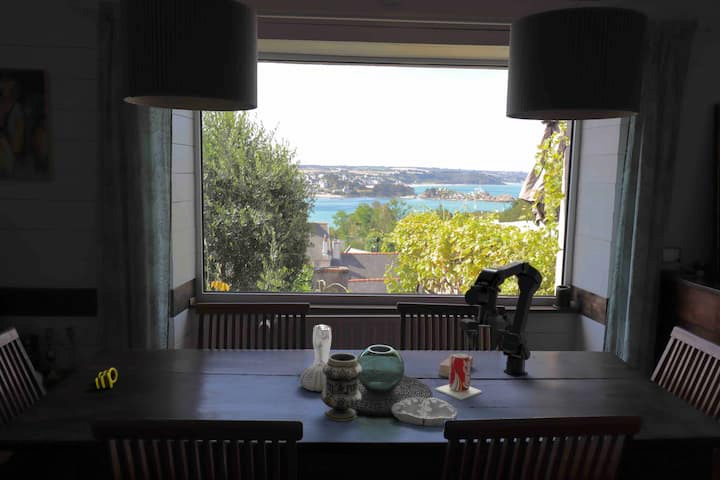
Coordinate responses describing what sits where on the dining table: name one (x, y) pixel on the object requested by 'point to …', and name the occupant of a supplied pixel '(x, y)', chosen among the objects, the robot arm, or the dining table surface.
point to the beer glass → (321, 343)
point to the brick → (448, 366)
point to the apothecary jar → (341, 386)
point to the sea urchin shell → (314, 378)
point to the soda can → (459, 372)
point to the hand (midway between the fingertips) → (483, 349)
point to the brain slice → (424, 411)
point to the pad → (458, 395)
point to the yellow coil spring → (106, 378)
